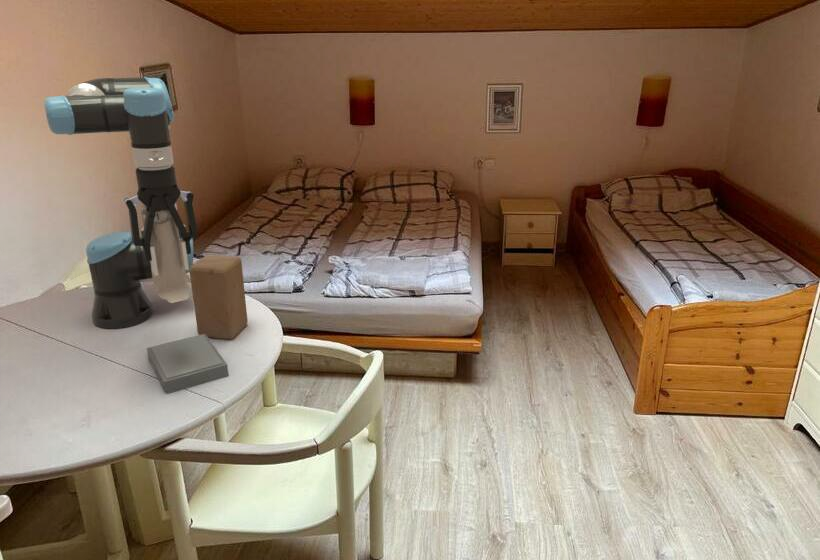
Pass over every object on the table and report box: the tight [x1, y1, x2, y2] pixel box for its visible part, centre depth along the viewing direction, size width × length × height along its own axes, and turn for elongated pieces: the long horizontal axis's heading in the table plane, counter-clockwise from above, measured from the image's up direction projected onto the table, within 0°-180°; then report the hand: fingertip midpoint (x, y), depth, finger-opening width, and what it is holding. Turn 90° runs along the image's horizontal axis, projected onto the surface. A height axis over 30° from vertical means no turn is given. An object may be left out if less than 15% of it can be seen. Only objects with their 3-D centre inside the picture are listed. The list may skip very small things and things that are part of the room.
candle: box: [140, 204, 192, 304], centre depth 128 cm, size 7×14×20 cm, turn 30°
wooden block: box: [189, 254, 249, 340], centre depth 153 cm, size 10×10×20 cm
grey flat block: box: [146, 334, 229, 394], centre depth 139 cm, size 18×14×3 cm
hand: (170, 270), depth 130 cm, fingers closed on candle, 6 cm apart
